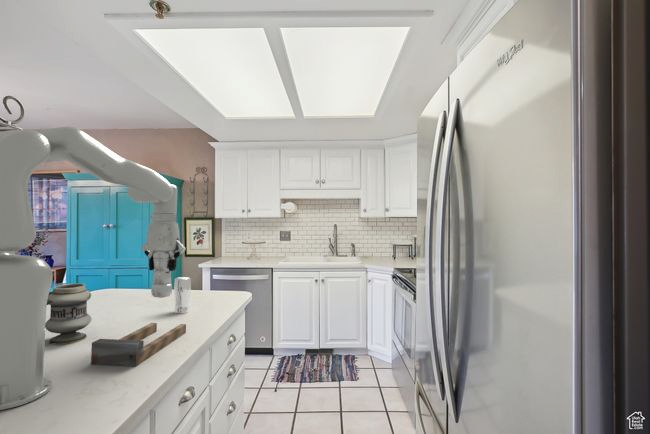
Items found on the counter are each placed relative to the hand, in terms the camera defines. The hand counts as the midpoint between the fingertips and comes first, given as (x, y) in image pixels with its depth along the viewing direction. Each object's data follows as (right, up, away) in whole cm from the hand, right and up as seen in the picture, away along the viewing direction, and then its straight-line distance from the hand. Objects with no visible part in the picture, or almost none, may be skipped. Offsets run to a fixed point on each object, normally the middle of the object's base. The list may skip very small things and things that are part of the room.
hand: (162, 269), depth 111 cm
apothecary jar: (-29, -23, -5) cm, 37 cm away
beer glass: (-7, -24, +31) cm, 40 cm away
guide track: (-1, -23, -9) cm, 25 cm away
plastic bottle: (0, -10, 0) cm, 10 cm away
